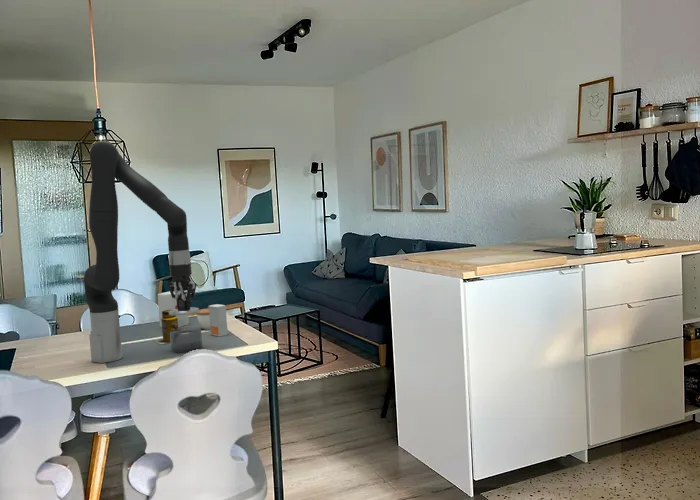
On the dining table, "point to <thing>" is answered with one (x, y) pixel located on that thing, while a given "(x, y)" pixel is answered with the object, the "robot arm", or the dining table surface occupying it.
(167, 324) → the condiment
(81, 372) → the dining table surface
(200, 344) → the grey block
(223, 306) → the skincare box
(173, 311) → the lid
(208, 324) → the lidded jar
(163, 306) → the supplement box
